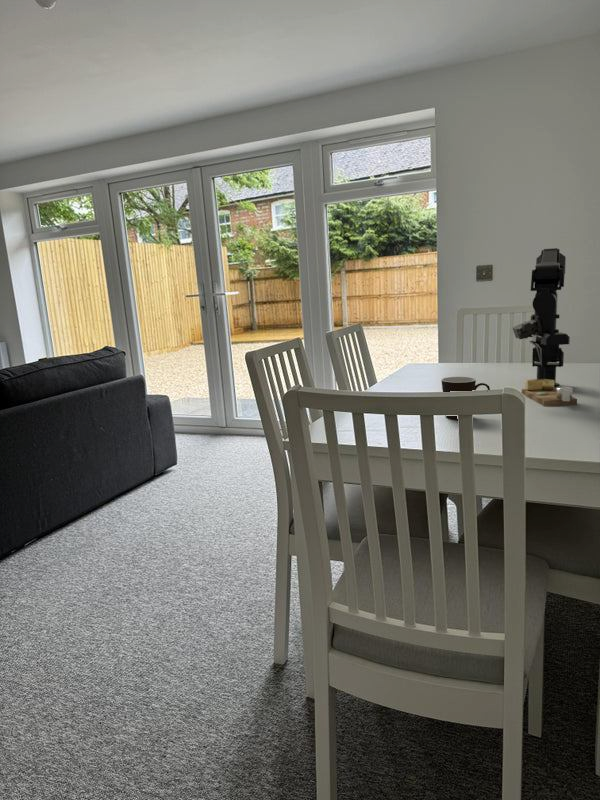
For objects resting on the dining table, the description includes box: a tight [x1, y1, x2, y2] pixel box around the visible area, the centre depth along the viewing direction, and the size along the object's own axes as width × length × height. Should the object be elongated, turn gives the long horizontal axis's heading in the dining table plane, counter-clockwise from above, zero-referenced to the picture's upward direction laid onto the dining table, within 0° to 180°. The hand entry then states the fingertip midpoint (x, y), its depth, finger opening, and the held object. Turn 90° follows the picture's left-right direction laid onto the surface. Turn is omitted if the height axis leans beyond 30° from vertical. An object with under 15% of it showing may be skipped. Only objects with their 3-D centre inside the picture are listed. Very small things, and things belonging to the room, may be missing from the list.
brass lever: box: [524, 378, 555, 390], centre depth 170 cm, size 8×4×3 cm, turn 89°
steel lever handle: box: [556, 385, 573, 401], centre depth 157 cm, size 8×4×3 cm, turn 160°
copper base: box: [521, 388, 578, 407], centre depth 165 cm, size 17×9×2 cm, turn 179°
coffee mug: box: [440, 376, 491, 421], centre depth 148 cm, size 12×9×10 cm
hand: (543, 366), depth 163 cm, fingers closed
